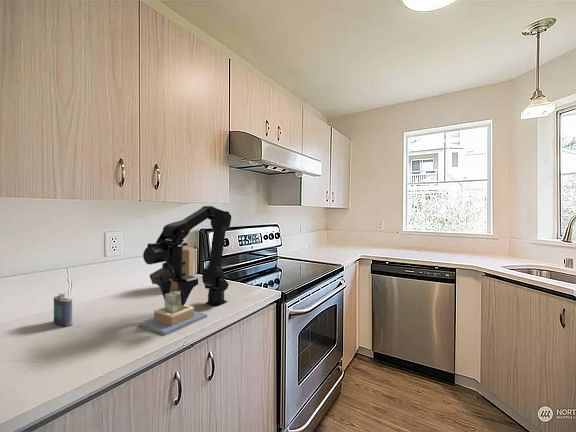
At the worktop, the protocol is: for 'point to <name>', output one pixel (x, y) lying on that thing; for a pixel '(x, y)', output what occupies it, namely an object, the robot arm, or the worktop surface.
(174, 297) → the sage block
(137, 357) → the worktop surface
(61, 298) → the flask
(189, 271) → the wooden block
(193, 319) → the build base
